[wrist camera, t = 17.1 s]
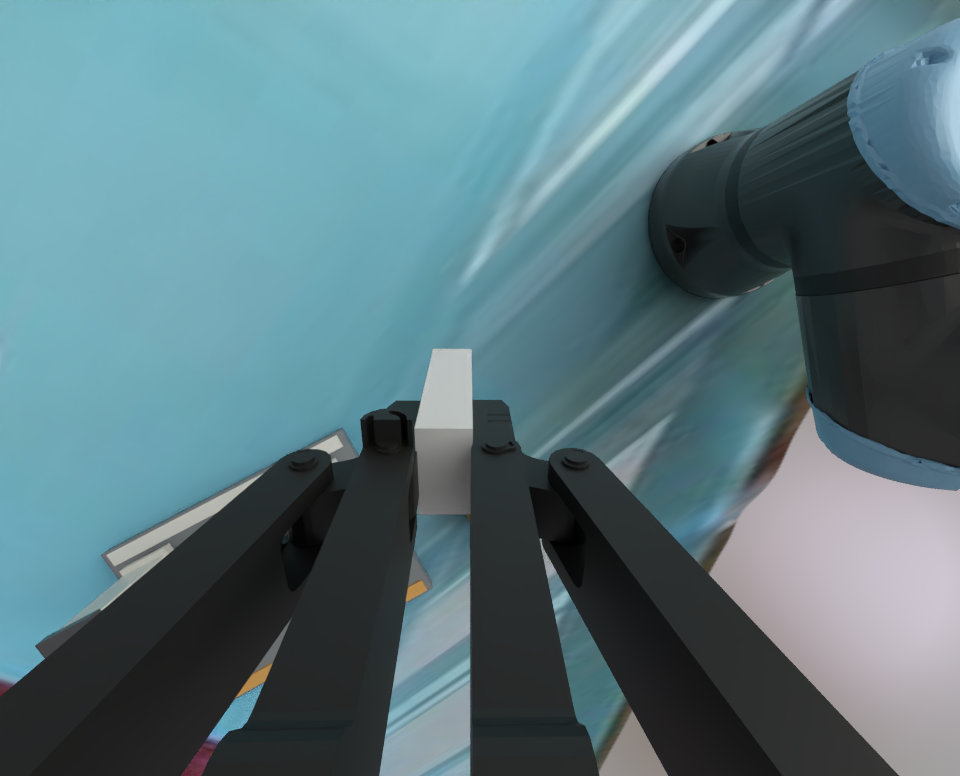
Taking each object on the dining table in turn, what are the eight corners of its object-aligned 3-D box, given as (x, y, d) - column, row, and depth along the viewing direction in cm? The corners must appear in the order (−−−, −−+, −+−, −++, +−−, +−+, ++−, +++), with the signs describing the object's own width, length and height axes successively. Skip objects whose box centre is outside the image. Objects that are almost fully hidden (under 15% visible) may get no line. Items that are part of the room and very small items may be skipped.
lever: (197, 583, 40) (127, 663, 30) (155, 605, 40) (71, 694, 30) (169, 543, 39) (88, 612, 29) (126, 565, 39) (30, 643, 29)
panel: (431, 581, 45) (432, 589, 43) (220, 700, 43) (214, 712, 42) (342, 427, 42) (339, 430, 40) (110, 548, 40) (99, 556, 39)
